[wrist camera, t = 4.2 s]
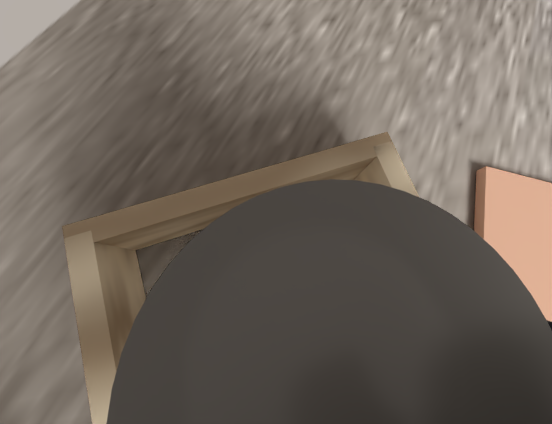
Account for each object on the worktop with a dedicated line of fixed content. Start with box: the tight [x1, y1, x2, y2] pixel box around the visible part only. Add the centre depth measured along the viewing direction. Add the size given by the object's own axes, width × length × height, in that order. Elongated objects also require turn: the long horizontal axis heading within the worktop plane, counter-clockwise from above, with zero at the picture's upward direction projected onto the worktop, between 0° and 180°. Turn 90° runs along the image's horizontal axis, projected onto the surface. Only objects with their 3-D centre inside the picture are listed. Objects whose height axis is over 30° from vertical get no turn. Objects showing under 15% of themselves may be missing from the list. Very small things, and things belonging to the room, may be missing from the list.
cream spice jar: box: [106, 179, 552, 424], centre depth 9 cm, size 5×5×13 cm
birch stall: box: [62, 132, 419, 424], centre depth 13 cm, size 11×17×4 cm, turn 109°
